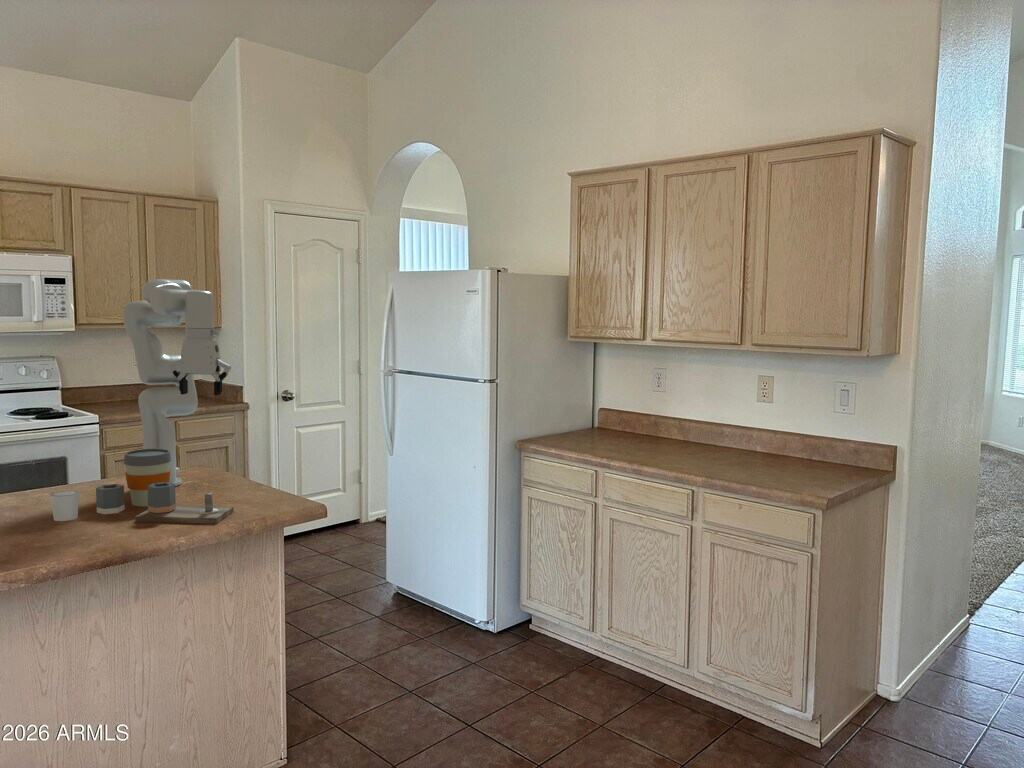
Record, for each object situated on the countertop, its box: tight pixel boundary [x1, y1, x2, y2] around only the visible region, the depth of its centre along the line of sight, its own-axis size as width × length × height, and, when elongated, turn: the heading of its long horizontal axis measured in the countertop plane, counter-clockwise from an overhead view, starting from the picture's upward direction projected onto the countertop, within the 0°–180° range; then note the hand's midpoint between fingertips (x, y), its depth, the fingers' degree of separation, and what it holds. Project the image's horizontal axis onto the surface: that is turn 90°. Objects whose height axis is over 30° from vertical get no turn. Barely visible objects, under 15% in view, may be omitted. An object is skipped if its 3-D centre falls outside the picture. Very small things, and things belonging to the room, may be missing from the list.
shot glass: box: [49, 490, 80, 522], centre depth 207 cm, size 7×7×7 cm
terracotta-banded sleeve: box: [147, 482, 177, 513], centre depth 211 cm, size 7×6×7 cm
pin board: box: [134, 492, 234, 525], centre depth 211 cm, size 12×22×6 cm, turn 89°
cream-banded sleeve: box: [95, 483, 125, 515], centre depth 215 cm, size 7×6×7 cm
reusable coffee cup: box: [123, 448, 171, 507], centre depth 225 cm, size 13×12×15 cm
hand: (200, 394), depth 219 cm, fingers open, 9 cm apart
